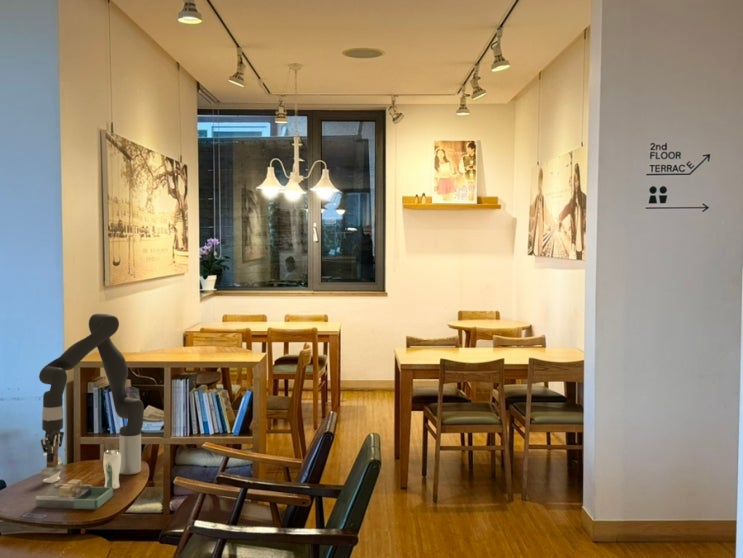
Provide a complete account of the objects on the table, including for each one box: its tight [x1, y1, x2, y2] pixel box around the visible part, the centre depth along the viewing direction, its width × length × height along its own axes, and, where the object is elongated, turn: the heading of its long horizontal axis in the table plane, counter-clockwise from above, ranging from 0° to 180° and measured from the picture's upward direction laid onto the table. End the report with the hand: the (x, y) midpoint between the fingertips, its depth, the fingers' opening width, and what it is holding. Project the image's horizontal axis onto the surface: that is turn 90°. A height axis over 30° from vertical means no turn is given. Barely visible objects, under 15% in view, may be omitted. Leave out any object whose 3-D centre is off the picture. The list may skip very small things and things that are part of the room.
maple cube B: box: [59, 483, 74, 497], centre depth 270 cm, size 4×4×4 cm
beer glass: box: [103, 449, 121, 490], centre depth 290 cm, size 7×7×15 cm
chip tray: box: [74, 486, 114, 511], centre depth 272 cm, size 15×9×4 cm, turn 177°
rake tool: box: [40, 442, 64, 479], centre depth 273 cm, size 11×3×12 cm, turn 177°
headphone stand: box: [42, 453, 62, 484], centre depth 297 cm, size 5×6×12 cm
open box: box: [35, 483, 93, 510], centre depth 273 cm, size 15×15×4 cm
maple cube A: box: [66, 479, 83, 493], centre depth 276 cm, size 4×4×4 cm
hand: (52, 460), depth 273 cm, fingers closed on rake tool, 3 cm apart
